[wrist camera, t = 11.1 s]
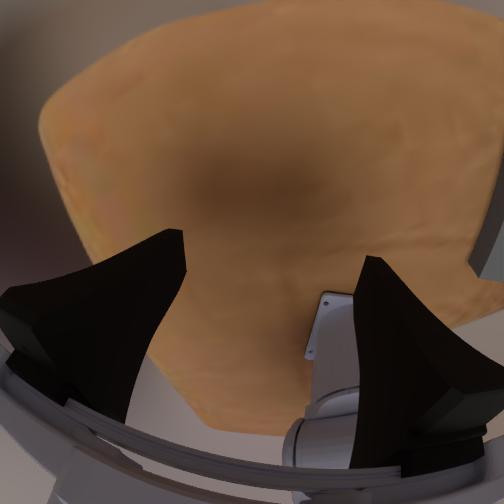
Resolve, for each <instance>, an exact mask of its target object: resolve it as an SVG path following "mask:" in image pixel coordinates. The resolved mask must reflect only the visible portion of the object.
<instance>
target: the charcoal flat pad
mask: <svg viewBox="0 0 504 504" xmlns="http://www.w3.org/2000/svg"><path fill="white" fill-rule="evenodd" d="M468 263H469V264H470V266H471V267H472V269H473V270H474V272H475V273H476V275H477V276H478V278H480V279H487V280H494V281H500V282H504V154H503V159H502V163H501V168H500V172H499V176H498V180H497V183H496V187H495V191H494V194H493V197H492V201H491V204H490V207H489V210H488V213H487V216H486V219H485V222H484V224H483V227H482V230H481V232H480V235H479V238H478V240H477V243H476V245H475V247H474V250H473V252H472V254H471V257H470V259H469V261H468Z"/></svg>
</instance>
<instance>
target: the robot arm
mask: <svg viewBox="0 0 504 504" xmlns="http://www.w3.org/2000/svg"><path fill="white" fill-rule="evenodd" d="M186 272H187V270H186V261H185V252H184V242H183V231H182V230H177V229H166V230H164V231H161V232H159V233H157V234H155V235H153V236H151V237H149V238H147V239H146V240H144V241H142V242H140V243H138V244H136V245H134V246H132V247H130V248H129V249H127V250H125V251H122V252H120V253H118V254H116V255H114V256H112V257H110V258H109V259H106V260H104V261H102V262H100V263H97V264H95V265H92V266H90V267H88V268H85V269H82V270H80V271H77V272H73V273H70V274H67V275H65V276H61V277H58V278H54V279H51V280H46V281H42V282H38V283H33V284H27V285H21V286H13V287H10V288H8V289H7V290H6V291H5V292H4V293H3V294H2V295H1V297H0V328H1V330H2V331H3V333H4V334H5V336H6V337H7V339H8V340H9V342H10V343H11V344H12V346H13V347H14V349H15V350H14V351H13V352H12V354H10V352H8V350H7V349H6V348H4V347H3V346H2V345H1V344H0V426H1V427H2V428H3V429H4V431H5V432H6V433H7V434H8V435H9V436H10V437H11V438H12V439H13V440H14V441H15V442H16V443H17V444H18V445H19V446H20V447H21V448H22V449H23V450H24V451H25V452H26V453H27V454H28V455H29V456H30V457H31V458H32V459H33V460H34V461H36V462H37V463H38V464H39V465H40V466H41V467H42V468H43V469H45V470H46V471H47V472H48V473H49V474H51V475H52V476H53V477H54V478H56V479H57V480H56V482H55V484H54V487H53V490H52V493H51V495H50V497H49V500H48V502H47V504H278V503H271V502H264V501H257V500H251V499H246V498H240V497H235V496H230V495H226V494H221V493H217V492H213V491H209V490H205V489H201V488H197V487H194V486H190V485H187V484H184V483H180V482H177V481H174V480H171V479H168V478H165V477H162V476H159V475H156V474H153V473H151V472H148V471H145V470H143V467H142V466H141V465H140V464H138V463H137V462H135V461H133V460H131V459H130V458H128V457H127V456H125V455H124V454H123V453H122V452H121V451H120V450H119V449H118V448H116V447H114V446H112V445H111V444H109V443H107V442H105V441H103V440H102V439H100V438H98V437H97V436H99V437H101V438H103V439H105V440H107V441H109V442H111V443H113V444H115V445H117V446H120V447H122V448H124V449H126V450H129V451H131V452H133V453H136V454H138V455H141V456H143V457H146V458H148V459H151V460H154V461H156V462H159V463H162V464H165V465H168V466H171V467H174V468H177V469H180V470H183V471H187V472H190V473H194V474H197V475H201V476H205V477H209V478H213V479H217V480H222V481H226V482H231V483H236V484H242V485H248V486H254V487H260V488H268V489H277V490H287V491H291V493H292V499H293V502H294V504H496V503H498V502H500V501H502V500H503V499H504V435H503V436H500V437H497V438H494V439H492V440H489V441H487V442H485V443H483V439H482V436H484V435H485V434H486V433H487V428H486V423H488V422H489V421H490V420H492V419H493V418H494V417H495V416H497V415H498V414H499V413H500V412H501V411H503V410H504V367H503V366H502V365H500V364H498V363H496V362H495V361H493V360H491V359H489V358H488V357H486V356H485V355H483V354H482V353H480V352H479V351H477V350H476V349H474V348H473V347H472V346H470V345H469V344H467V343H466V342H465V341H464V340H462V339H461V338H460V337H458V336H457V335H456V334H455V333H453V332H452V331H451V330H450V329H449V328H448V327H447V326H445V325H444V324H443V323H442V322H441V321H440V320H439V319H438V318H437V317H436V316H435V315H434V314H433V313H432V312H430V311H429V310H428V309H427V307H426V306H425V305H424V304H423V303H422V302H421V301H420V300H419V299H418V298H417V297H416V296H415V295H414V294H413V292H412V291H411V290H410V289H409V288H408V287H407V286H406V285H405V283H404V282H403V281H402V280H401V279H400V278H399V277H398V275H397V274H396V273H395V272H394V271H393V270H392V268H391V267H390V266H389V265H388V264H387V263H386V262H385V261H384V260H383V259H382V258H381V257H374V256H367V255H366V258H365V262H364V265H363V268H362V271H361V274H360V277H359V280H358V283H357V286H356V289H355V292H354V295H353V296H352V295H344V294H336V293H324V294H323V295H322V297H321V300H320V304H319V308H318V311H317V315H316V318H315V322H314V325H313V328H312V332H311V335H310V338H309V342H308V345H307V348H306V351H305V355H304V357H305V359H308V360H313V374H312V388H311V401H310V404H311V405H307V406H306V407H305V417H304V418H299V419H297V420H296V421H295V422H294V423H293V424H292V426H291V428H290V429H289V430H288V432H287V434H286V436H285V440H284V443H283V450H282V465H283V466H279V465H271V464H264V463H256V462H251V461H245V460H240V459H234V458H229V457H225V456H220V455H216V454H211V453H208V452H204V451H200V450H196V449H193V448H189V447H185V446H182V445H178V444H175V443H172V442H169V441H166V440H163V439H160V438H157V437H155V436H152V435H149V434H147V433H144V432H141V431H139V430H136V429H134V428H131V427H129V426H127V425H125V420H126V415H127V411H128V407H129V403H130V399H131V395H132V392H133V388H134V385H135V382H136V379H137V375H138V373H139V370H140V367H141V364H142V361H143V359H144V356H145V354H146V351H147V349H148V346H149V344H150V341H151V339H152V337H153V335H154V333H155V331H156V330H157V328H158V326H159V324H160V323H161V321H162V319H163V317H164V316H165V314H166V312H167V311H168V309H169V307H170V305H171V304H172V302H173V300H174V298H175V297H176V295H177V293H178V291H179V289H180V287H181V284H182V282H183V280H184V277H185V274H186ZM324 302H328V303H324ZM96 435H97V436H96Z"/></svg>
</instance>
